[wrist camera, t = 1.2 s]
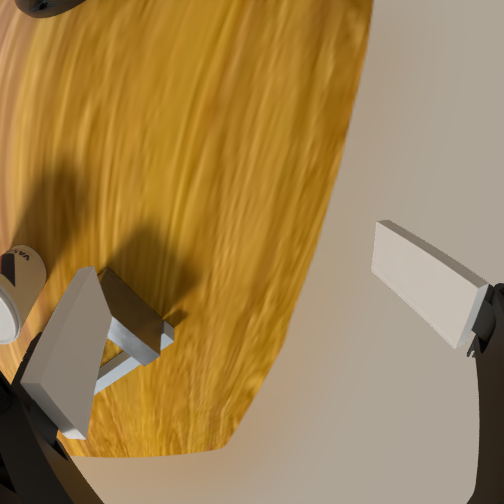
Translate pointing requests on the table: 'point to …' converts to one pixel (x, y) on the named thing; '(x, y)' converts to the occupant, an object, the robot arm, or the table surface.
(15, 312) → the coffee cup
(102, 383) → the back rail
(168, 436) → the table surface
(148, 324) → the block
